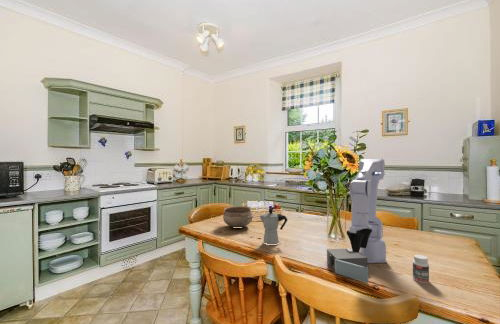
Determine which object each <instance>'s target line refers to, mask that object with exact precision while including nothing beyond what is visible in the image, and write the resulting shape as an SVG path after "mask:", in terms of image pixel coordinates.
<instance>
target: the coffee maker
mask: <svg viewBox="0 0 500 324" xmlns="http://www.w3.org/2000/svg"><path fill="white" fill-rule="evenodd" d="M273 212H274V209H273V208H268V213H264V214H263V215H259V216H258V217H259V218H260V220H261V223H262V224H263V228H264V236H263V242H264V243H267V244H277V243H279V244H280V240H279V235H278V228H279V229H280V230H281V231H282V230H283V228H284V227H285V225H286V224H287V222H288V218H287V216H285V215H282V214H281V213H278V214H277V213H273ZM283 220H284V221H283ZM280 221H283V223H282V224H281V226H280V227H279V222H280ZM263 242H262V243H263Z"/></svg>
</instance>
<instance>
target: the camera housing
mask: <svg viewBox="0 0 500 324" xmlns="http://www.w3.org/2000/svg"><path fill="white" fill-rule="evenodd" d="M335 259H337V260H341V261H345V262H348V263H352V264H356V265H360V266H364V267H367V268H368V263H367V257H366V256H364V255H363V254H362V253H360V251H359V253H357V252H353V251H352V247H351V248H349V247H348V248H329V249H328V248H327V249H326V262H327V264H328V265H329V267H331V266H332V267H331V268H332V270H334V271H335Z"/></svg>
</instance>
